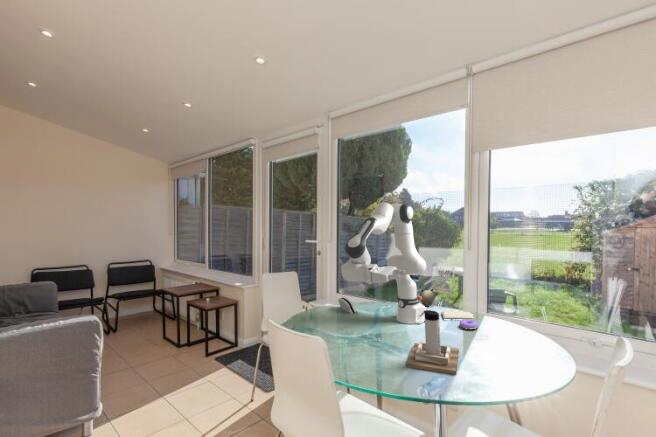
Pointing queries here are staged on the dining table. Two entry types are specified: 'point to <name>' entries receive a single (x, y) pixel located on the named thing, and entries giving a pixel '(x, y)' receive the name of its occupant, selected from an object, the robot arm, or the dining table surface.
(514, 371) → the dining table surface
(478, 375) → the dining table surface
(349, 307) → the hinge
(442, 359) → the dock
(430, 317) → the travel mug
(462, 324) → the donut
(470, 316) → the washcloth
